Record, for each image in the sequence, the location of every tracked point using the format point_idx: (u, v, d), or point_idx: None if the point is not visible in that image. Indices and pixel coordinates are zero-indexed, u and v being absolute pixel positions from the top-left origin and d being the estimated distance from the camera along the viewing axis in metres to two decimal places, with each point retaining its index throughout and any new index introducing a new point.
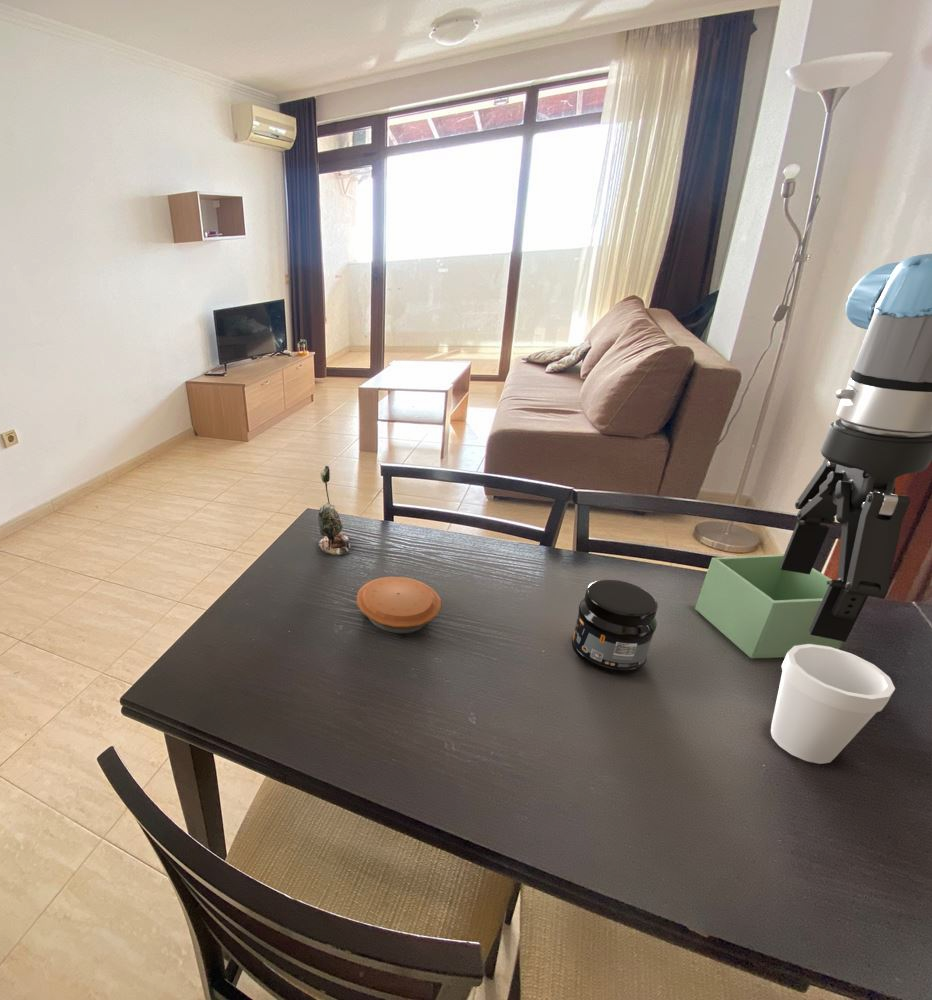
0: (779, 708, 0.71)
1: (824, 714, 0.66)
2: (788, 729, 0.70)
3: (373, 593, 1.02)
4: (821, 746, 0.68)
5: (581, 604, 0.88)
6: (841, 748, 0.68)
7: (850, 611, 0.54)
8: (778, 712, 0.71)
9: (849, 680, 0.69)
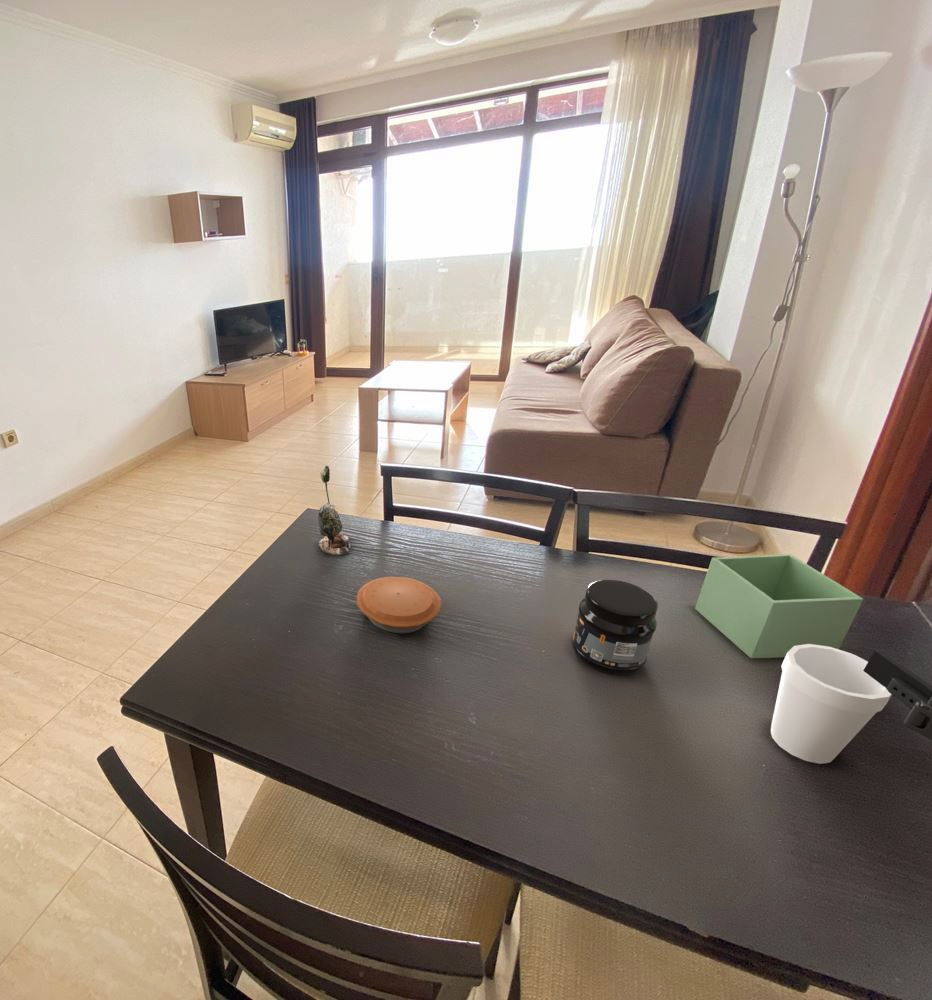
0: (779, 708, 0.71)
1: (824, 714, 0.66)
2: (788, 729, 0.70)
3: (373, 593, 1.02)
4: (821, 746, 0.68)
5: (581, 603, 0.88)
6: (841, 748, 0.68)
7: None
8: (778, 712, 0.71)
9: (849, 680, 0.69)
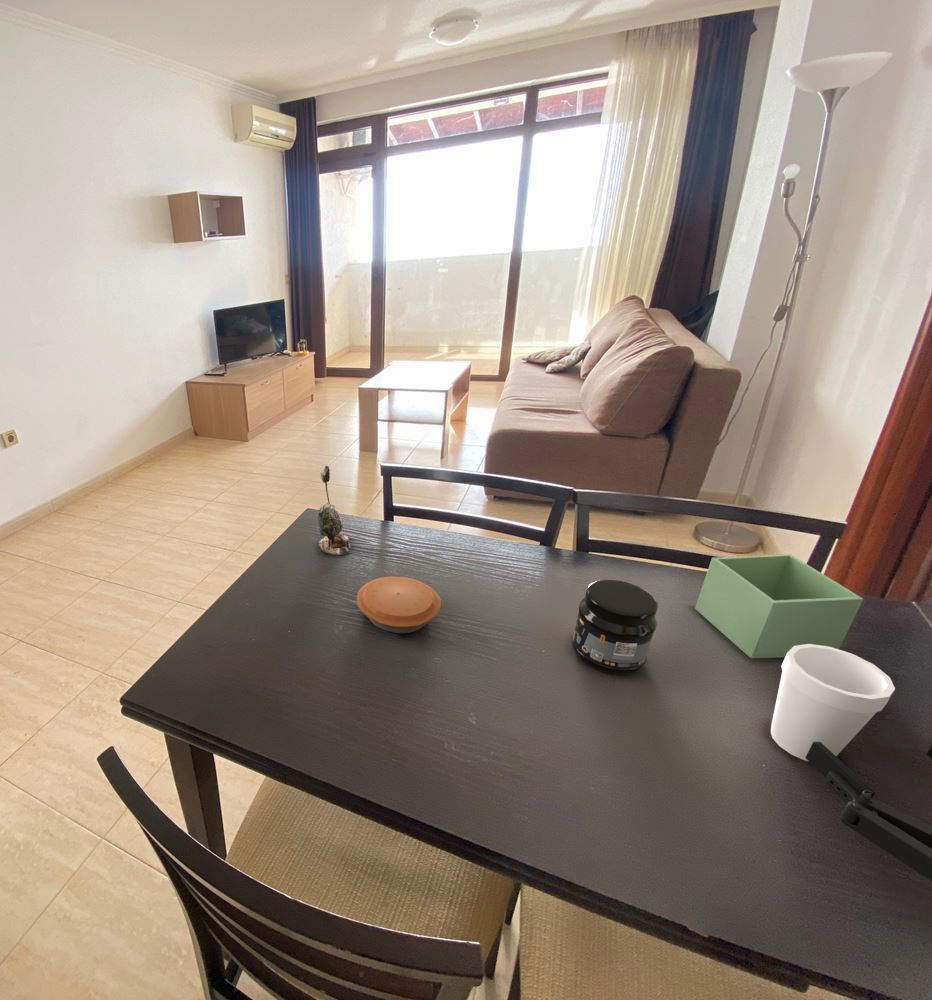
0: (779, 708, 0.71)
1: (824, 714, 0.66)
2: (788, 729, 0.70)
3: (373, 593, 1.02)
4: None
5: (581, 603, 0.88)
6: (841, 748, 0.68)
7: None
8: (778, 712, 0.71)
9: (849, 680, 0.69)
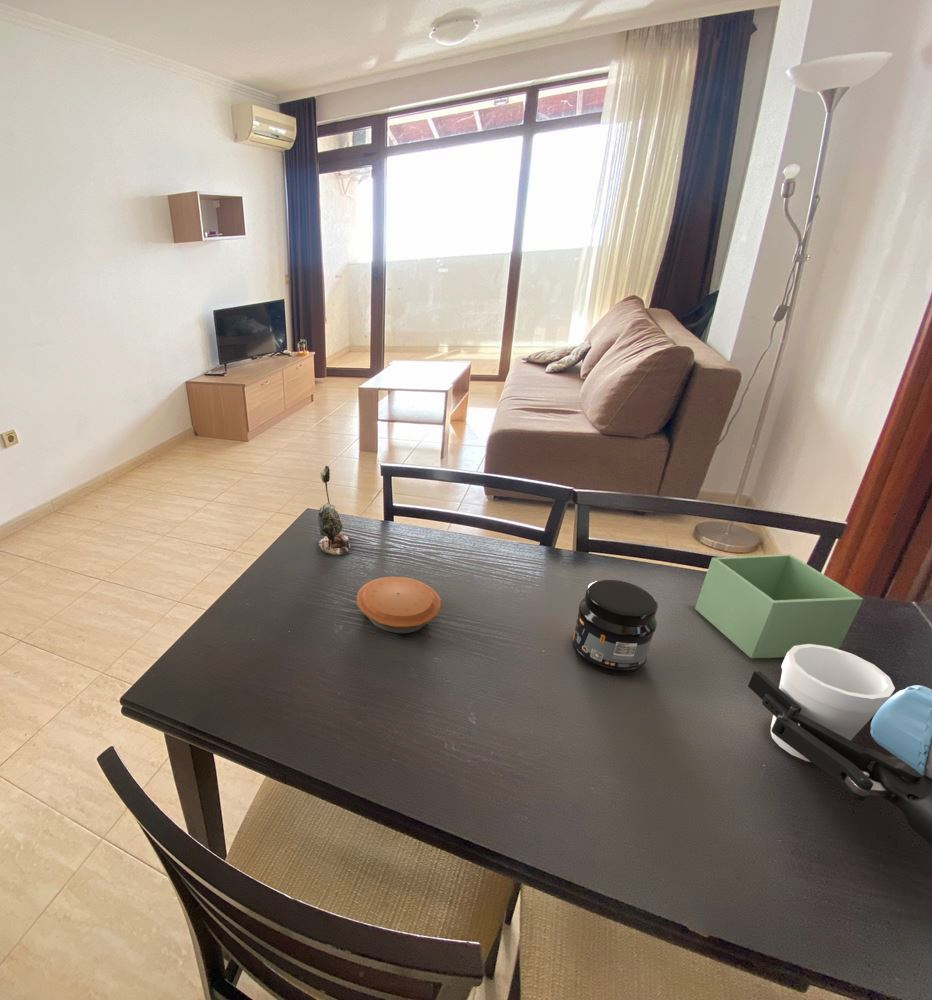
0: None
1: (824, 714, 0.66)
2: None
3: (373, 593, 1.02)
4: None
5: (581, 603, 0.88)
6: None
7: None
8: None
9: (849, 680, 0.69)
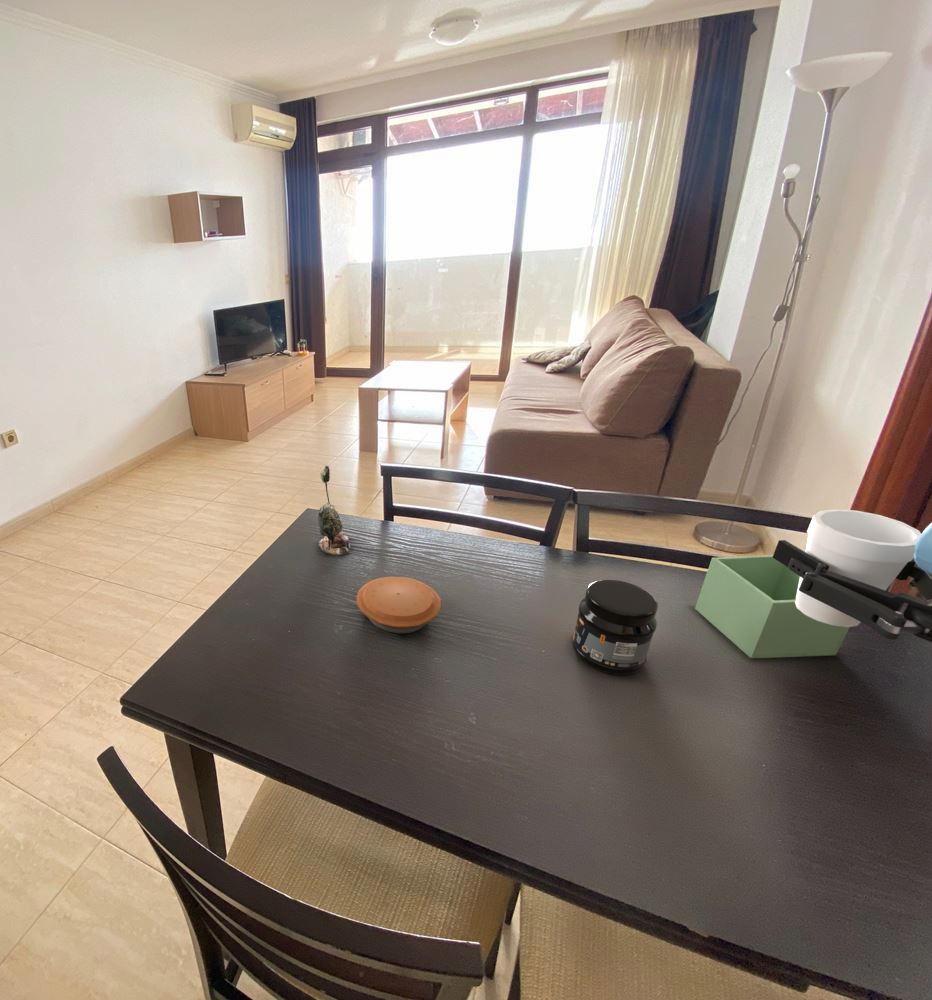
0: None
1: (852, 569, 0.65)
2: None
3: (373, 593, 1.02)
4: None
5: (581, 603, 0.88)
6: None
7: None
8: None
9: (876, 541, 0.68)
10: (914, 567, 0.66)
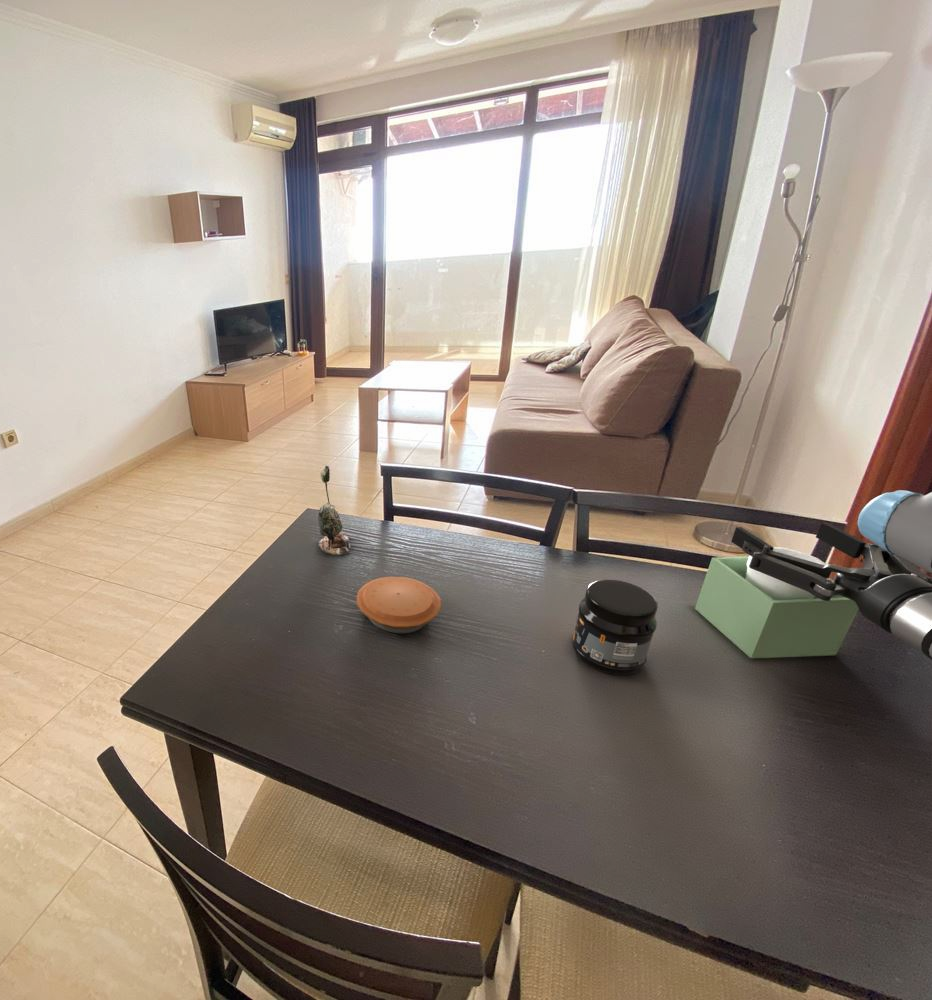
0: None
1: (778, 595, 0.85)
2: None
3: (373, 593, 1.02)
4: None
5: (581, 603, 0.88)
6: None
7: None
8: None
9: None
10: (865, 547, 0.81)
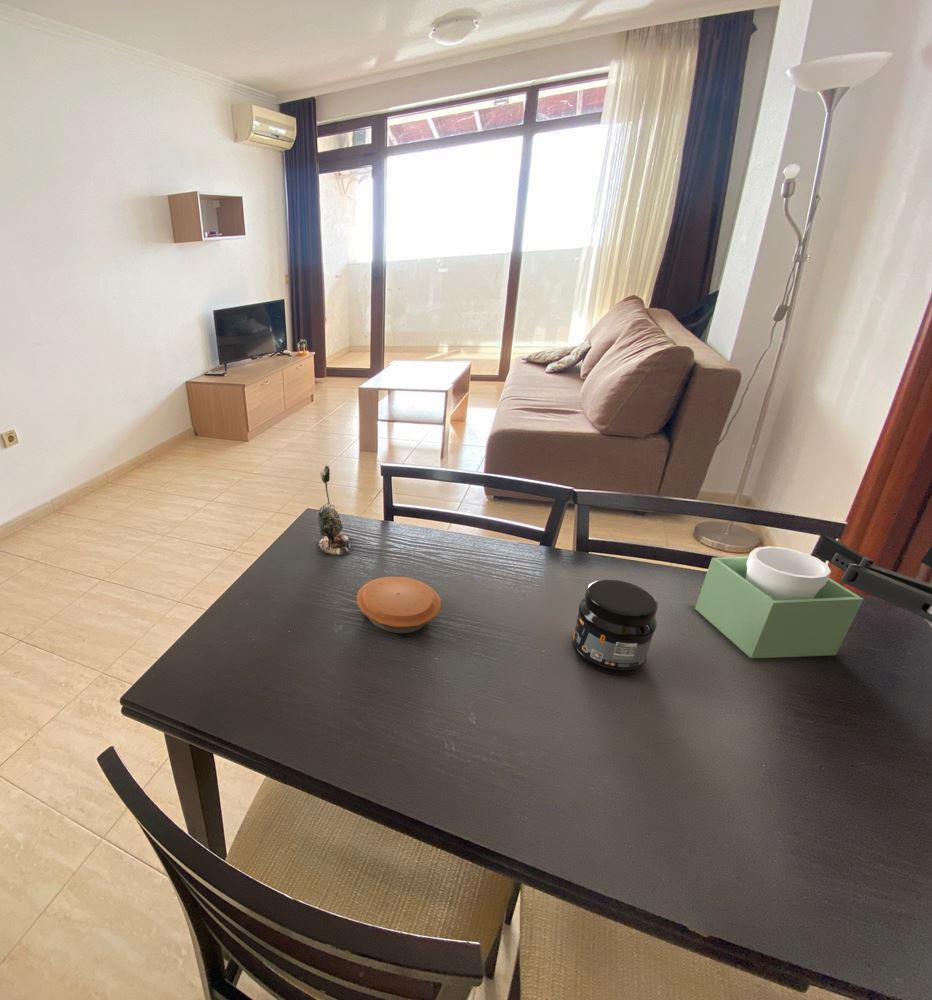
0: None
1: (778, 595, 0.85)
2: None
3: (373, 593, 1.02)
4: None
5: (581, 603, 0.88)
6: None
7: None
8: None
9: (798, 572, 0.88)
10: None
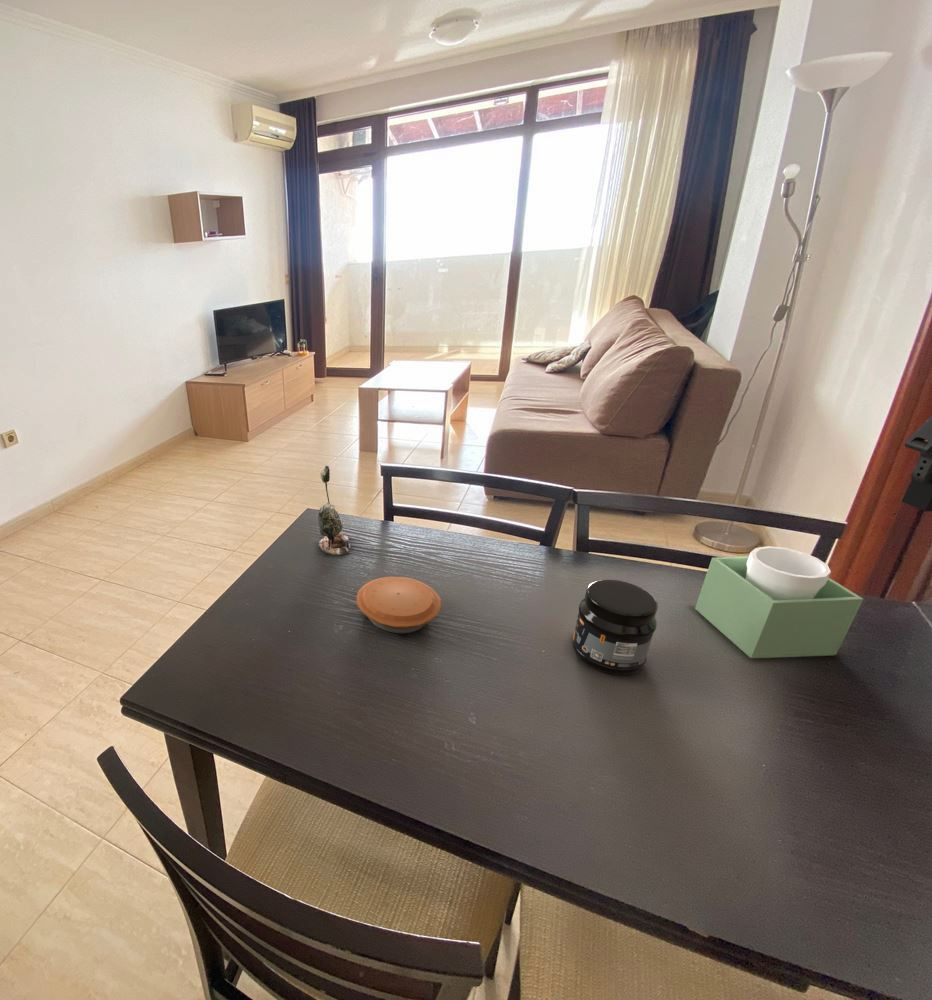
0: None
1: (778, 595, 0.85)
2: None
3: (373, 593, 1.02)
4: None
5: (581, 603, 0.88)
6: None
7: (921, 474, 0.62)
8: None
9: (798, 572, 0.88)
10: None
